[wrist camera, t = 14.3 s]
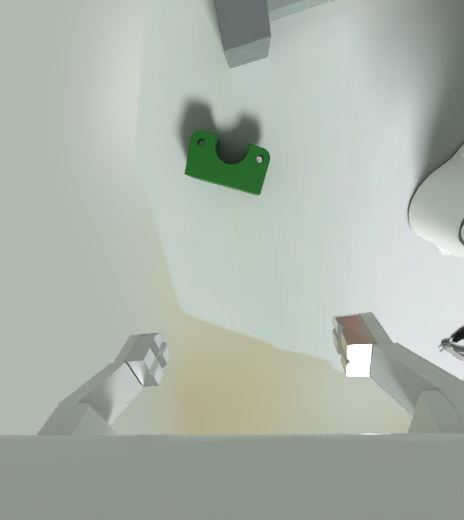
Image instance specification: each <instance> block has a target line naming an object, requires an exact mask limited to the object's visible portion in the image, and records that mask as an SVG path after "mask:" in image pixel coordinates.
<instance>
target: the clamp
mask: <svg viewBox="0 0 464 520" xmlns="http://www.w3.org/2000/svg"><path fill="white" fill-rule="evenodd" d="M201 140H204V141H205V145H204V146H202V147H201V146H199V142H200V141H201ZM219 144H220V141H219V138H218V135H216V134H212V133H209V132H205V131H197V132H195V133H194V134H193V136H192V138H191V143H190V149H189V154H188V159H187V164H186V169H185V174H186V175H188V176H190V177H193V178H196V179H200V180H203V181H207V182H211V183H214V184H218V185H222V186H225V187H229V188H232V189H236V190H240V191H243V192H247V193H251V194H254V195H260V193H261V189H262V186H263V182H264V179H265V175H266V172H267V168H268V165H269V161H270V155H269V153H268V151H267V150H266V149H264V148H261V147H258V146H254V145H251V144H249V147H248V153H247V155H246V157H245V158H244V159H243V160H242V161H241V162H239V163H237V164H226V163H224V162H223V161H221V160H220V159H219V158H218V146H219ZM257 156H260V157H262V162H261V163H258V162H256V160H255V158H256V157H257Z"/></svg>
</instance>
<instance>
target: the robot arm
mask: <svg viewBox="0 0 464 520" xmlns="http://www.w3.org/2000/svg"><path fill="white" fill-rule="evenodd" d="M409 223H410V226H411V228H412V230H413V232H414V233H415V234H416V235H417V236H418V237H420V238H421V239H423V240H426V241H428V242H430V243H432V244H433V245H434V247H435V248H436V249H437V251H438V252H440V253H441V254H444V255H447V256H448V255H453V254H454V255H456V256H458V257H460V258H462V259H464V144H463V145H462V146H461V148H460V149H459V150H458V151H457V152H456V154H455V155H454V156H453V157H452V158H451V159H450V160H449V161H447V162H446V163H445V164H443V165H442V166H440V167H439V168H438V169H436V170H435V171H434V172H433V173H432V174H431V175H429V176H428V177H427V178H426V180H425V181H424V182H423V183H422V184H421V186H420V187H419V188H418V190H417V191H416V193H415V195H414V197H413V199H412V201H411V204H410V208H409ZM333 325H334V327H335V328H334V329H333V339H334V344H335V347H336V350H337V352H338V353H339V354H340V355H341V363H342V366H343V368H344V371H345V373H346V376H370V378H371V379H372V380H374V381H375V382H376V383H377V384H378V385H379V386H380V387H381V388H383V390H385V391H386V392H387V393H388V394H389V395H390V396H391V397H392V398H393V399H395V400H396V401H397V402H398V403H399V404H400V405H401V406H402V407H403V408H405V409H406V410H407V411H408V412H409V413H410V414H411V415H412V416H413V418H412V421H411V424H410V427H409V430H408V433H359V434H358V433H353V434H352V433H350V434H348V433H347V434H176V435H175V434H170V435H116V433H115V431H114V430H113V429H112V428H111V427H110V425H111V424H112V422H113V421H114V420H115V419H116V418H117V417H118V416H119V414H120V413H121V412H122V411H123V410H124V409H125V408H126V406H127V405H128V404H129V403H130V402H131V401H132V400H133V398H134V397H135V396H136V395H137V394H138V393H139V391H140V390H141V389H142V388H143V387H146V386H158V385H159V384H160V381H161V379H162V376H163V374H164V371H163V367H164V366H165V365H166V364H167V363H168V360H169V354H170V351H169V347H168V345H167V344H166V343H165V342H163V339H164V337H163V336H162V334H161V333H150V334H139V335H132V336H130V337H129V338H128V340H127V341H126V343H125V345H124V346H123V348H122V350H121V351H120V353H119V354H118V356H117V358H116V359H115V361H114V363H110V364H109V365H108V366H106V367H105V368H104V369H102V370H101V371H100V372H99V373H97V374H96V375H95V376H93V377H92V378H91V379H90V380H89V381H87V382H86V383H85V384H83V385H82V386H81V387H79V388H78V389H77V390H76V391H74V392H73V393H72V394H71V395H69V396H68V397H67V398H66V399H64V400H63V401H62V402H60V403H59V405H58V407H57V408H56V409H55V410H54V412H53V413H52V415H51V416H50V417H49V419H48V420H47V421H46V423H45V424H44V425H43V427H42V428H41V430H40V431H39V433H38V434H37V435H3V436H2V435H0V520H464V381H462V380H460V379H458V378H457V377H455V376H453V375H452V374H450V373H448V372H446V371H445V370H443V369H441V368H440V367H438V366H436V365H434V364H433V363H431V362H429V361H428V360H426V359H424V358H422V357H421V356H419V355H417V354H416V353H414V352H412V351H411V350H409V349H407V348H405V347H404V346H402V345H400V344H399V343H393V342H392V341H391V339H390V338H389V336H388V335H387V333H386V332H385V330H384V329H383V327H382V326H381V324H380V323H379V321H378V320H377V318H376V317H375V315H374V314H373V313H371V312H367V313H358V314H349V315H339V316H333Z"/></svg>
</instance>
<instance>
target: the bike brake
mask: <svg viewBox="0 0 464 520" xmlns="http://www.w3.org/2000/svg"><path fill="white" fill-rule="evenodd" d="M461 339H464V330H462V332H459V334H457V336H455V337H454V339H452V342H451V343H448V342H444V343H442V347H443V349H441V350H440V352H441V351H443V350H446V351H448V352H449V353H451V354H452V355H453V356H455V357H456V358H458V359H460V360H462V361H464V354H461V353H459V352H457V351H456V350H454V349H453V347H452V346H451V344H452V343H454V342H456V343H457V341H458V342H459V341H460V340H461Z"/></svg>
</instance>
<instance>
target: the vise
mask: <svg viewBox="0 0 464 520" xmlns="http://www.w3.org/2000/svg"><path fill="white" fill-rule="evenodd" d="M329 1H332V0H215V4H216V9H217V15H218V20H219V26H220V32H221V37H222V43H223V49H224V53H225V56H226V58H227V61H228V64H229V67H230V68H233V67H236V66H239V65H243V64H246V63H249V62H252V61H256V60H259V59H262V58H265V57H267V56H268V50H269V44H270V38H271V34H270V24H269V21H272V20H275V19H278V18H281V17H284V16H287V15H290V14H293V13H296V12H299V11H302V10H305V9H308V8H311V7H314V6H317V5H320V4H323V3H326V2H329Z"/></svg>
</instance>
